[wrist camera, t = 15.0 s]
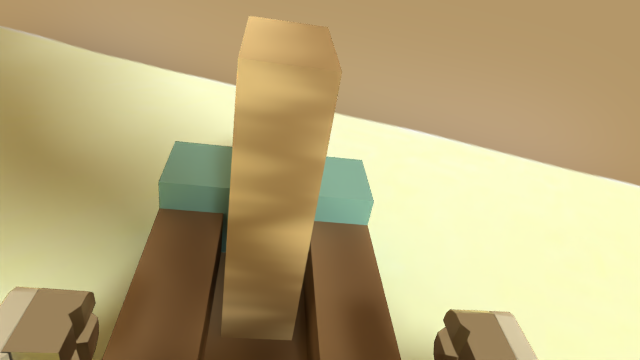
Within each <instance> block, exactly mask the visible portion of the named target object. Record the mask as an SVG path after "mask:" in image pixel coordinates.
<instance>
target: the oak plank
mask: <svg viewBox="0 0 640 360" xmlns="http://www.w3.org/2000/svg"><path fill="white" fill-rule="evenodd" d="M341 74H342V70H341V67H340V64H339V61H338V57H337V54H336V51H335V48H334V45H333V42H332V38H331V35H330V32H329V29H328V27H323V26H316V25H309V24H302V23H295V22H288V21H281V20H274V19H267V18H260V17H253V16H249V18H248V22H247V26H246V30H245V33H244V37H243V41H242V45H241V49H240V53H239V56H238V67H237V82H236V99H235V115H234V131H233V147H232V163H231V179H230V195H229V212H228V228H227V244H226V260H225V276H224V292H223V308H222V325H221V337H228V338H250V339H272V340H292V336H293V331H294V326H295V320H296V315H297V310H298V304H299V299H300V294H301V288H302V283H303V278H304V272H305V267H306V262H307V256H308V251H309V246H310V240H311V235H312V230H313V224H314V219H315V214H316V208H317V203H318V197H319V192H320V187H321V181H322V176H323V171H324V165H325V160H326V155H327V149H328V144H329V139H330V133H331V128H332V123H333V117H334V112H335V106H336V101H337V96H338V91H339V85H340V80H341Z"/></svg>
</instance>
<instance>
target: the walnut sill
mask: <svg viewBox="0 0 640 360" xmlns="http://www.w3.org/2000/svg"><path fill="white" fill-rule="evenodd" d="M231 163H232V147H228V146H218V145H208V144H198V143H189V142H179V141H175V144H174V146H173V149H172V151H171V153H170V156H169V158H168V161H167V163H166V165H165V168H164V170H163V173H162V175H161V177H160V180H159V211H158V214H157V216H156V219H155V221H154V224H153V227H152V229H151V232H150V235H149V237H148V240H147V243H146V245H145V248H144V250H143V253H142V256H141V258H140V261H139V264H138V266H137V269H136V271H135V274H134V277H133V279H132V282H131V285H130V287H129V290H128V293H127V295H126V298H125V300H124V303H123V306H122V308H121V311H120V314H119V316H118V319H117V322H116V324H115V327H114V329H113V332H112V335H111V337H110V340H109V343H108V345H107V348H106V350H105V353H104V356H103V358H102V360H401V357H400V353H399V349H398V345H397V341H396V337H395V333H394V329H393V325H392V321H391V317H390V313H389V309H388V305H387V301H386V297H385V294H384V290H383V286H382V282H381V278H380V274H379V270H378V266H377V262H376V258H375V254H374V250H373V246H372V242H371V238H370V234H369V230H368V226H367V225H368V221H369V217H370V213H371V210H372V206H373V202H374V200H373V197H372V193H371V190H370V187H369V183H368V180H367V176H366V173H365V169H364V166H363V162H362V160H355V159H345V158H335V157H326V160H325V165H324V171H323V176H322V181H321V187H320V192H319V197H318V203H317V208H316V214H315V219H314V224H313V230H312V235H311V240H310V246H309V251H308V256H307V262H306V267H305V272H304V278H303V283H302V288H301V294H300V299H299V304H298V310H297V315H296V320H295V326H294V331H293V336H292V340H272V339H250V338H228V337H221V325H222V308H223V292H224V276H225V260H226V244H227V228H228V212H229V195H230V179H231Z"/></svg>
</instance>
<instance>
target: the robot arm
mask: <svg viewBox="0 0 640 360" xmlns="http://www.w3.org/2000/svg"><path fill="white" fill-rule="evenodd" d="M95 304H96V303H95V298H94V293H92V292H88V291H74V290H61V289H48V288H29V287H15V288H14V289H13V290H11V291H10V292H9V293H8V295H7V296H6V298H5V299H4V301H3V302H2V304H1V305H0V360H92V357H93V354H94V352H95V349H96V345H97V340H98V335H99V323H98V317H96V316H95V315H94V314H93V313H92V311H93V308H94V306H95ZM443 321H444V324H445V326H446V327H445V328H443V329H442V330H440V331H439V332H438V333H437V336H436V338H435V341H434V359H435V360H538V359H537V357H536V355H535V353H534V351H533V349H532V348H531V346H530V344H529V342H528V340H527V339H526V337H525V335H524V333H523V331H522V330H521V328H520V326H519V324H518V322H517V321H516V319H515V317H514V315H512V314H511V313H510V312H497V311H489V312H488V311H478V310H452V309H450V310H449V311H448V312H447V313H446V315H445V317H444V319H443Z"/></svg>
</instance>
